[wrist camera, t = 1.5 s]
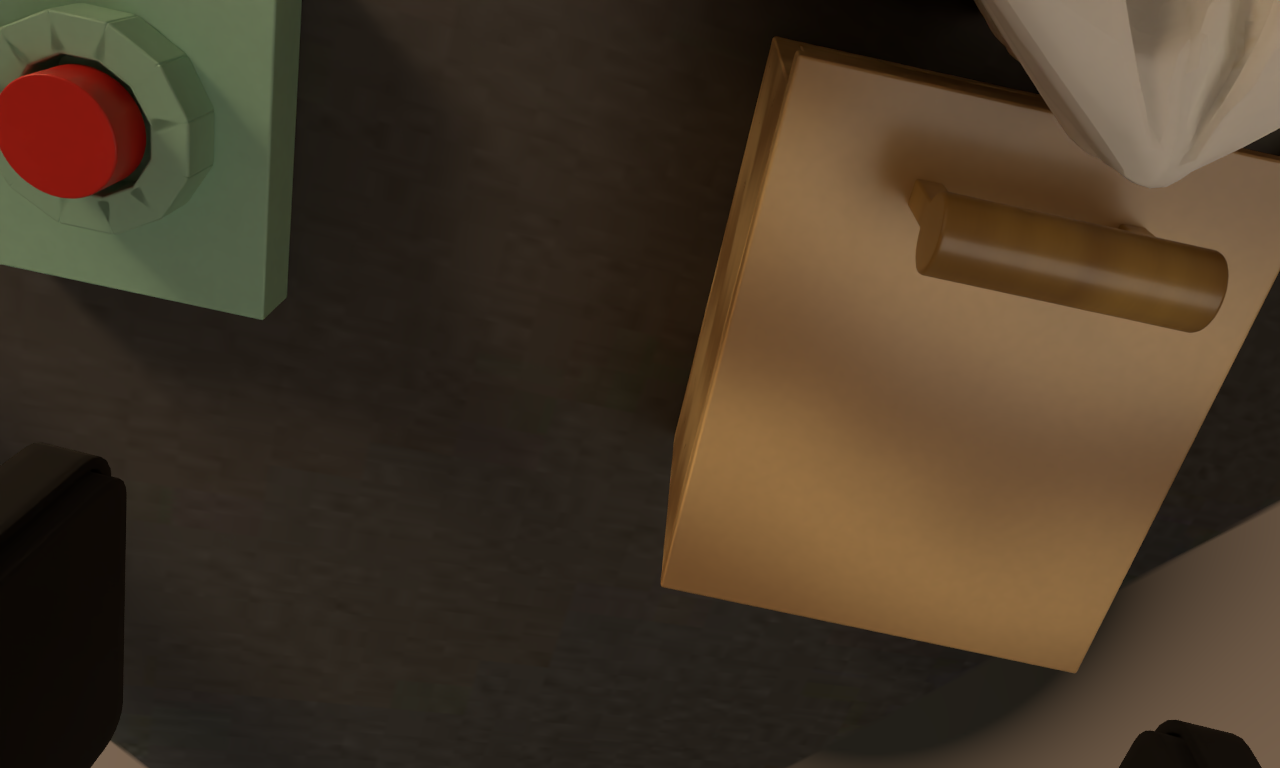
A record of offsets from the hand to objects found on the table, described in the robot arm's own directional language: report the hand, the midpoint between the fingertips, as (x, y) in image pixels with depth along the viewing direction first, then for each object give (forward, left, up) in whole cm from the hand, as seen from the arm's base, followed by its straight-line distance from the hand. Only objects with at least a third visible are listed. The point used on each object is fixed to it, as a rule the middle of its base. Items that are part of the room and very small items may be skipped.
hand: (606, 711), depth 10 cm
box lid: (+4, +8, -18) cm, 21 cm away
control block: (+3, -18, -27) cm, 32 cm away
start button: (+3, -18, -23) cm, 29 cm away
